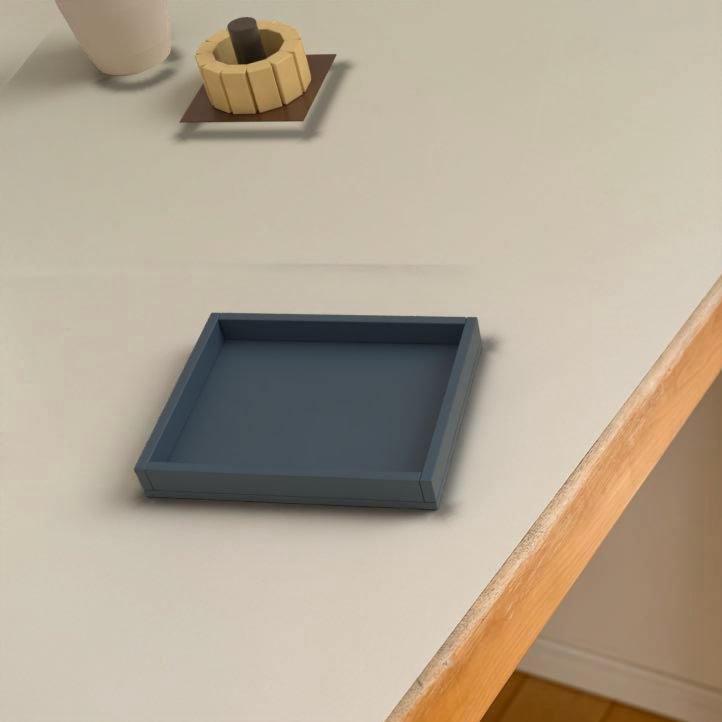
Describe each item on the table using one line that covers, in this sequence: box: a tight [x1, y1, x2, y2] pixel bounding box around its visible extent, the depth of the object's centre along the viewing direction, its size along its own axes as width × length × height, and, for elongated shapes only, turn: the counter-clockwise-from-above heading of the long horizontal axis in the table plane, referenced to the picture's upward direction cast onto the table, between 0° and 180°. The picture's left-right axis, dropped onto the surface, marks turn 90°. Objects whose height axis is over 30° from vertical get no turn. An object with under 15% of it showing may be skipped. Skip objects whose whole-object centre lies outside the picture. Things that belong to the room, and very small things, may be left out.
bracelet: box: [194, 20, 311, 114], centre depth 87 cm, size 7×7×3 cm
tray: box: [133, 312, 483, 510], centre depth 65 cm, size 15×12×2 cm
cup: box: [54, 0, 172, 76], centre depth 90 cm, size 8×8×10 cm
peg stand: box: [179, 16, 338, 124], centre depth 86 cm, size 9×9×6 cm
